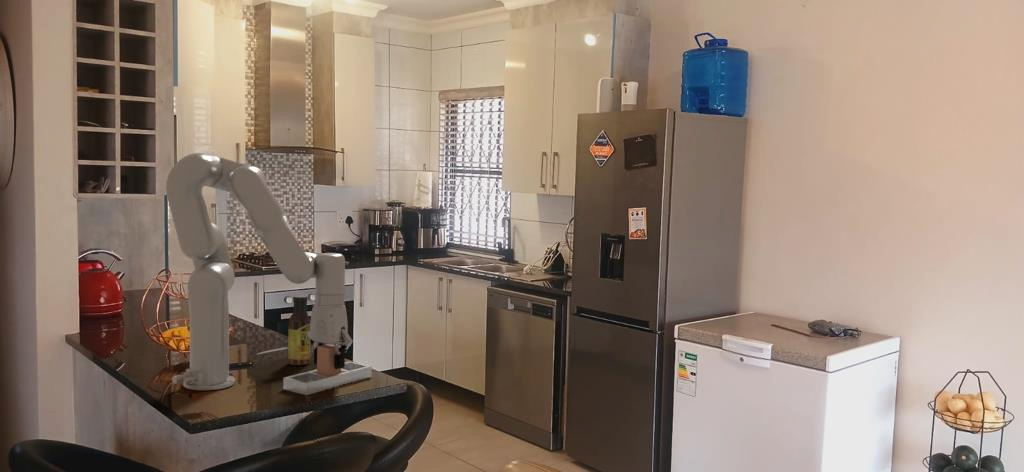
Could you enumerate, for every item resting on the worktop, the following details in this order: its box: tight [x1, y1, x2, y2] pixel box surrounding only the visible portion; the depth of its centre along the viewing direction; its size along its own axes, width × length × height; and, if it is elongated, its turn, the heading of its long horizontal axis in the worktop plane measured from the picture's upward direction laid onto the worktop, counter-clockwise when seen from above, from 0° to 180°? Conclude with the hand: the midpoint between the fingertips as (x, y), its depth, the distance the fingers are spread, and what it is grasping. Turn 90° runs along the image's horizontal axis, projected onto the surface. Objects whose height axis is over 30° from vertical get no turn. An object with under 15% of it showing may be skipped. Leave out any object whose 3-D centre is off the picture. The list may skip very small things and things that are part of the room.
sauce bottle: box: [287, 295, 311, 366], centre depth 231 cm, size 6×6×20 cm
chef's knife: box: [256, 346, 288, 356], centre depth 248 cm, size 19×1×3 cm
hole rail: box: [283, 360, 373, 396], centre depth 212 cm, size 23×9×3 cm, turn 146°
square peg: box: [316, 344, 341, 376], centre depth 211 cm, size 4×4×10 cm
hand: (329, 365), depth 211 cm, fingers open, 7 cm apart
